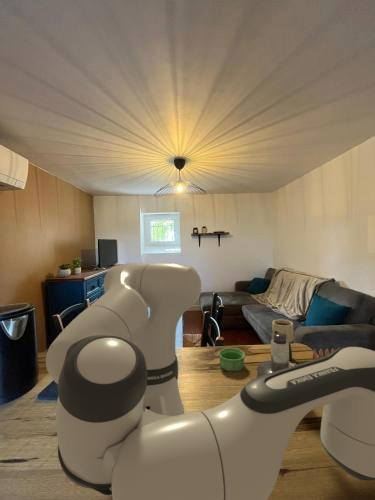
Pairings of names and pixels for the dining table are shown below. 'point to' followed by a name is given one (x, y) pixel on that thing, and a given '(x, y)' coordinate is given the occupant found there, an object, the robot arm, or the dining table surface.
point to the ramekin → (231, 359)
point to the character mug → (284, 331)
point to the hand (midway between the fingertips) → (307, 363)
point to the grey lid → (264, 368)
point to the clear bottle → (279, 352)
